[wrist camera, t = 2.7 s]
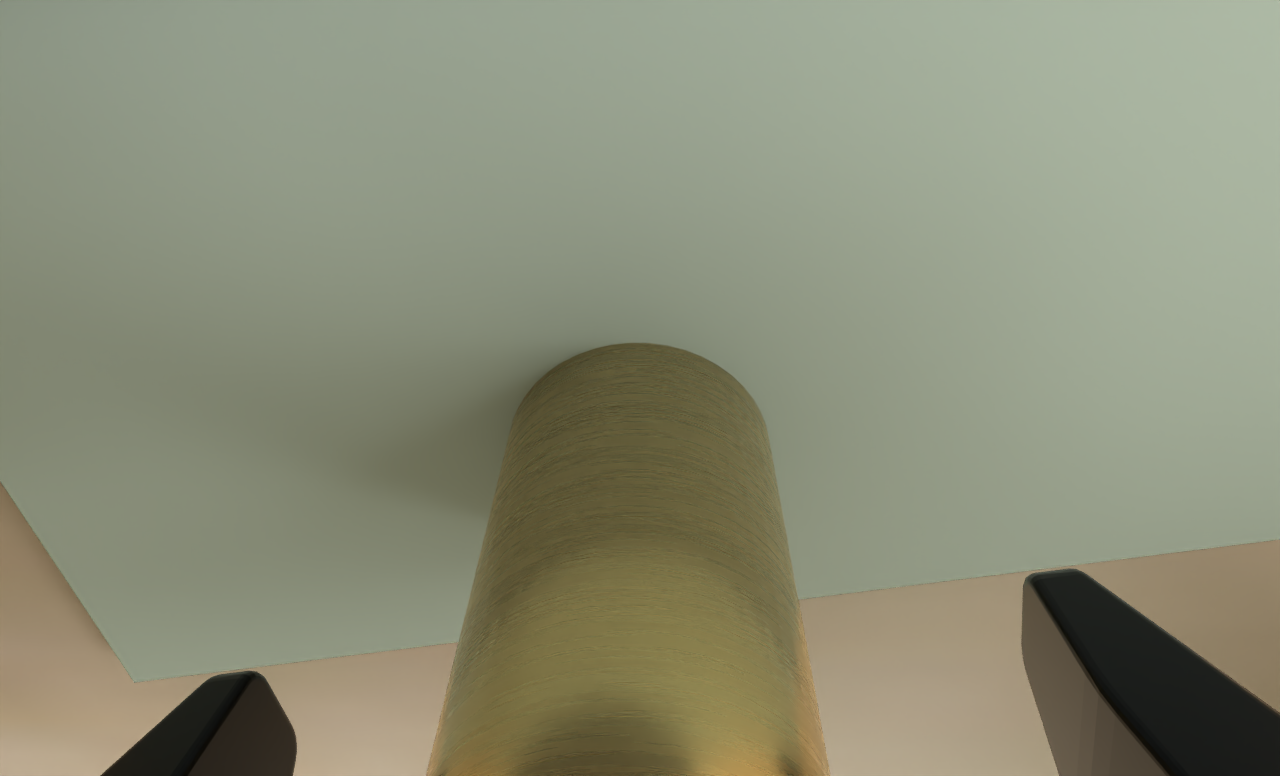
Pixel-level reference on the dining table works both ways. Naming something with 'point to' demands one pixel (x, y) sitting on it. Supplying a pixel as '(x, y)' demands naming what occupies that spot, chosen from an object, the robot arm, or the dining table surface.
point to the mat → (622, 285)
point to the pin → (633, 587)
